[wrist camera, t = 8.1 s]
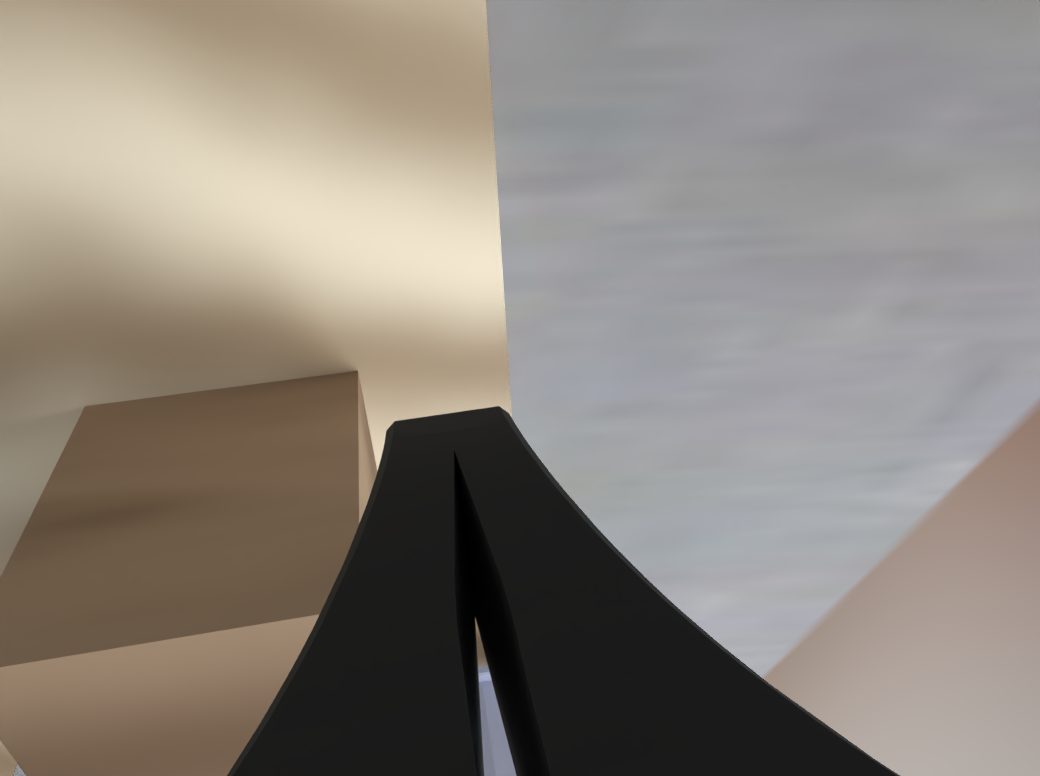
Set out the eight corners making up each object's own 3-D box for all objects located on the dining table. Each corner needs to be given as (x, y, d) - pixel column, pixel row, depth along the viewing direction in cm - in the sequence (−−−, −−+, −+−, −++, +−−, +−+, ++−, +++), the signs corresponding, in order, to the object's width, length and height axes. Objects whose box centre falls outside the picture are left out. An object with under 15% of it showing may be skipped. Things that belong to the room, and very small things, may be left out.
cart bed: (520, 591, 25) (562, 780, 20) (12, 676, 23) (-85, 908, 18) (465, -245, 13) (536, -312, 8) (-578, -205, 11) (-1347, -258, 6)
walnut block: (393, 553, 21) (407, 806, 16) (166, 589, 21) (94, 867, 15) (358, 370, 18) (359, 607, 12) (84, 406, 17) (-49, 675, 12)
